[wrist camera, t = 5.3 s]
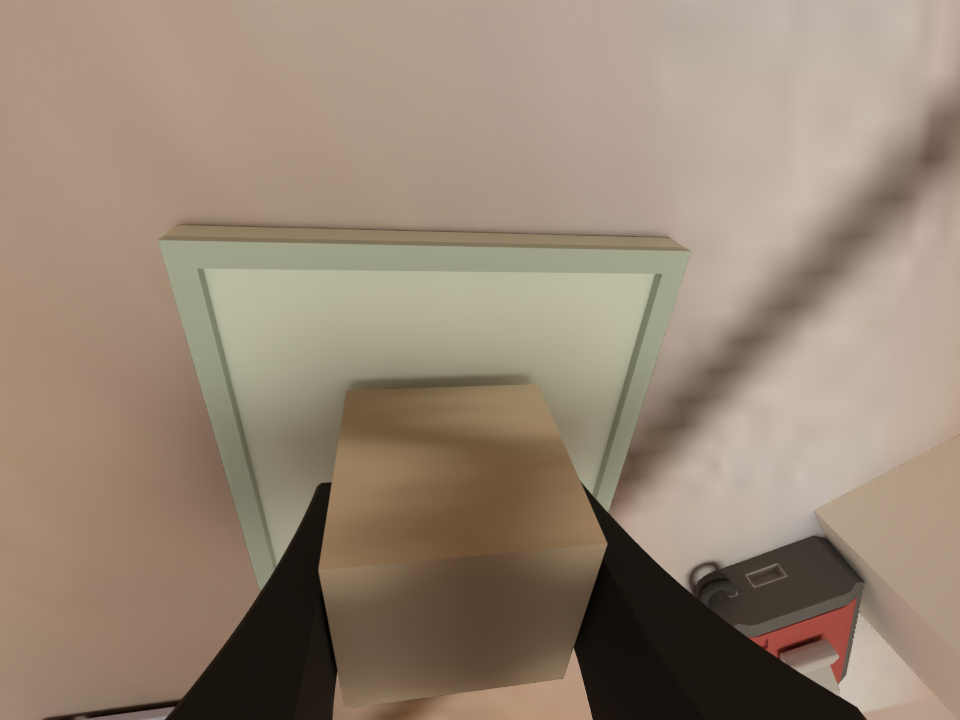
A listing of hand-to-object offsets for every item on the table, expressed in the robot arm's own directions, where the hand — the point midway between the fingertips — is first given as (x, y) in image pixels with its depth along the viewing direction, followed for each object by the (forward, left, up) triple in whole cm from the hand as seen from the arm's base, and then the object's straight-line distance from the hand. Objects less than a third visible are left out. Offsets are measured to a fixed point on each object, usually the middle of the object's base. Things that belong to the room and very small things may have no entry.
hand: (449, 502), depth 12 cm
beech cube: (0, 0, -2) cm, 2 cm away
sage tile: (0, 0, -3) cm, 3 cm away
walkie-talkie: (+18, -17, -4) cm, 25 cm away
